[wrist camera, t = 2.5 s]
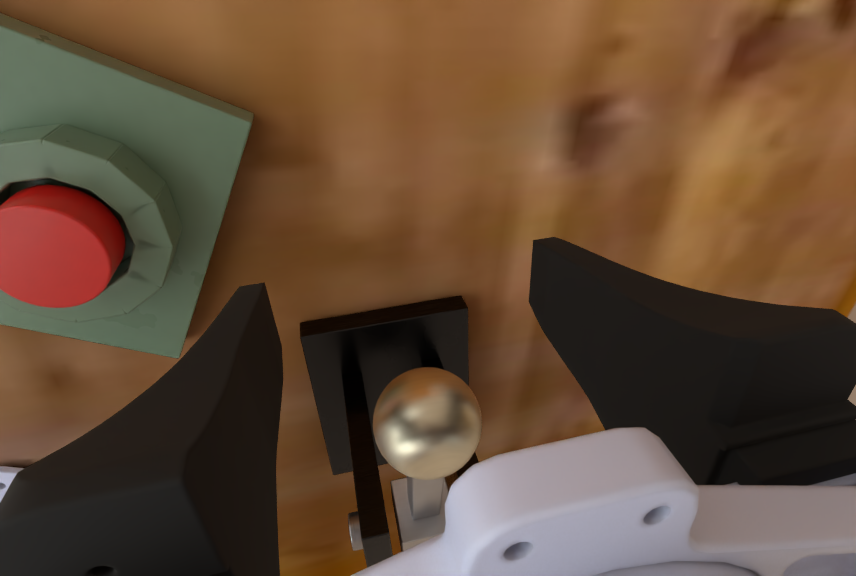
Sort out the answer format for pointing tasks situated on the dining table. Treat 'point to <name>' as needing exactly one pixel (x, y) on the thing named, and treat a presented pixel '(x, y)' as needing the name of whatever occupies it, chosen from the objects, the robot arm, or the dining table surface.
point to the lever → (425, 445)
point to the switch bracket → (376, 391)
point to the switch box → (119, 179)
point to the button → (57, 246)
